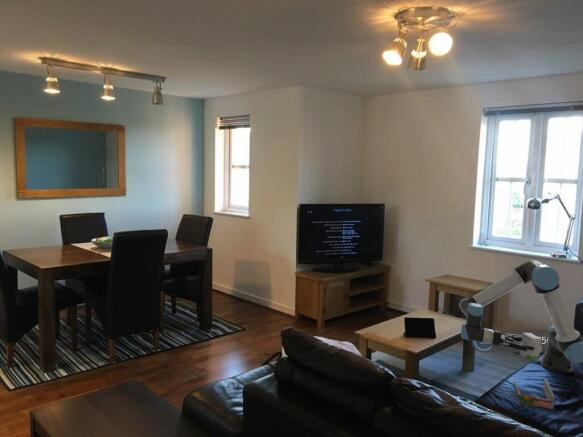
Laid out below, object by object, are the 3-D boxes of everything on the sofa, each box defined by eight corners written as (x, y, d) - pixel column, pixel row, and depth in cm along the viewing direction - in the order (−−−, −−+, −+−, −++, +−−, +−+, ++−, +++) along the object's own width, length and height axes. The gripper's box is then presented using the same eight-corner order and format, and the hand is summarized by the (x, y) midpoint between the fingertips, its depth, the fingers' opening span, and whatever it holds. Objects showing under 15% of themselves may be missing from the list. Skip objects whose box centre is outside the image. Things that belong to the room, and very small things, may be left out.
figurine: (537, 412, 213) (539, 395, 212) (507, 404, 218) (509, 388, 217) (537, 409, 216) (539, 392, 214) (508, 402, 221) (510, 385, 220)
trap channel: (545, 390, 235) (546, 379, 234) (553, 409, 217) (554, 396, 216) (514, 384, 239) (515, 373, 238) (519, 402, 221) (521, 390, 220)
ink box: (539, 361, 238) (542, 338, 236) (530, 361, 237) (533, 338, 236) (528, 354, 246) (530, 332, 245) (519, 354, 245) (522, 332, 244)
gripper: (491, 337, 258) (538, 345, 250) (491, 351, 238) (541, 361, 229) (493, 323, 257) (539, 331, 249) (493, 337, 237) (543, 346, 228)
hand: (540, 346), depth 239 cm, fingers closed on ink box, 9 cm apart
